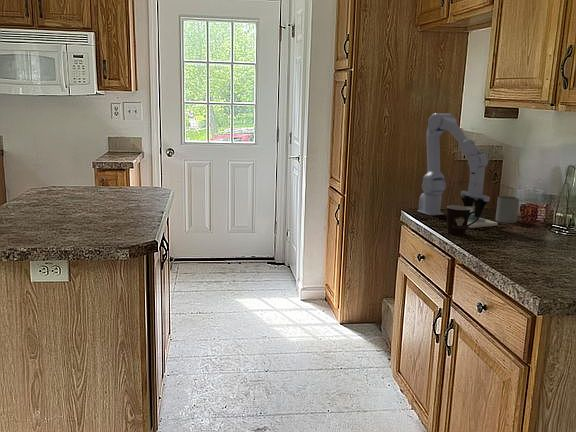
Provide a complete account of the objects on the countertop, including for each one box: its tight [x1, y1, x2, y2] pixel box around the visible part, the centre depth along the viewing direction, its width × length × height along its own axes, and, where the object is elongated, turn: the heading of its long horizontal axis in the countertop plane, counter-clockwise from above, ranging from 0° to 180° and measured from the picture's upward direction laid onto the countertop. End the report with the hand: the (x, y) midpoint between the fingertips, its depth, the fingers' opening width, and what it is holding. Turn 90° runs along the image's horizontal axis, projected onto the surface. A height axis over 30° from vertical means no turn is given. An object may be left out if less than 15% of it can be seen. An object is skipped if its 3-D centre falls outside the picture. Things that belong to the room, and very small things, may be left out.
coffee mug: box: [446, 205, 480, 237], centre depth 213 cm, size 12×9×10 cm
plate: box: [467, 217, 498, 229], centre depth 234 cm, size 14×14×2 cm
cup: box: [495, 195, 520, 224], centre depth 240 cm, size 8×8×10 cm
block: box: [467, 205, 479, 220], centre depth 233 cm, size 4×4×6 cm
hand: (472, 215), depth 233 cm, fingers open, 5 cm apart
